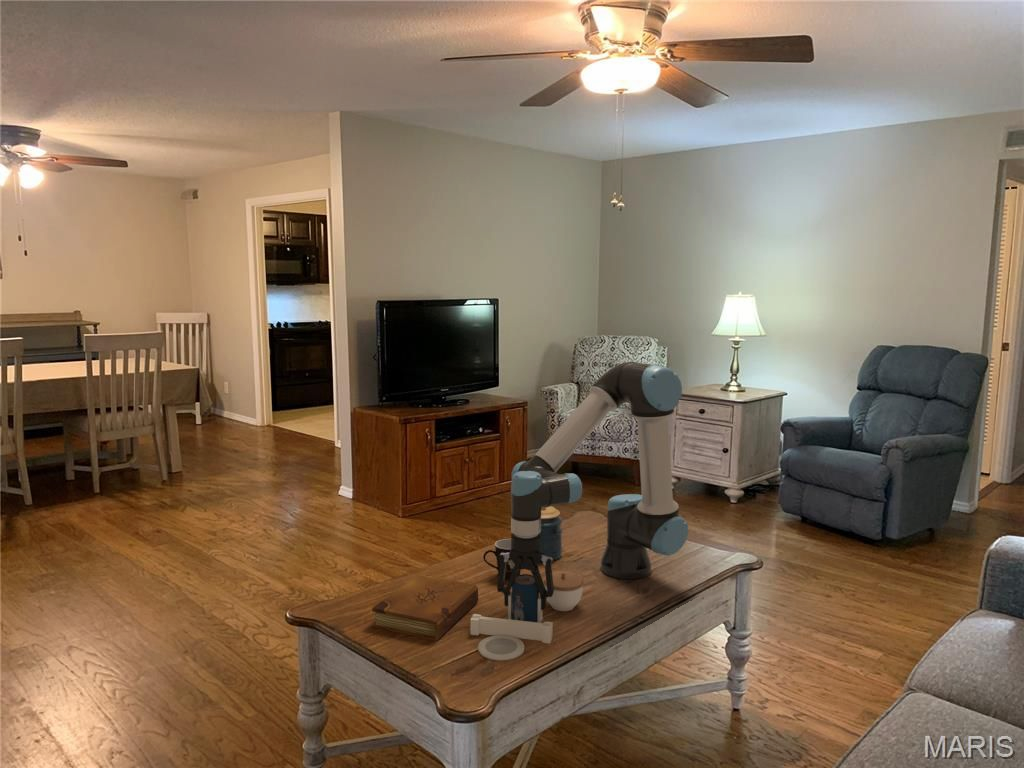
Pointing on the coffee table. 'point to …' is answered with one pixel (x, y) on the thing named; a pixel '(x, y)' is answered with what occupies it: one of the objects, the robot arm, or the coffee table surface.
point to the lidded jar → (565, 590)
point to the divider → (511, 628)
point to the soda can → (525, 598)
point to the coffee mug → (500, 547)
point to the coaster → (501, 647)
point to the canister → (551, 533)
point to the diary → (425, 606)
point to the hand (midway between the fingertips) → (525, 619)
